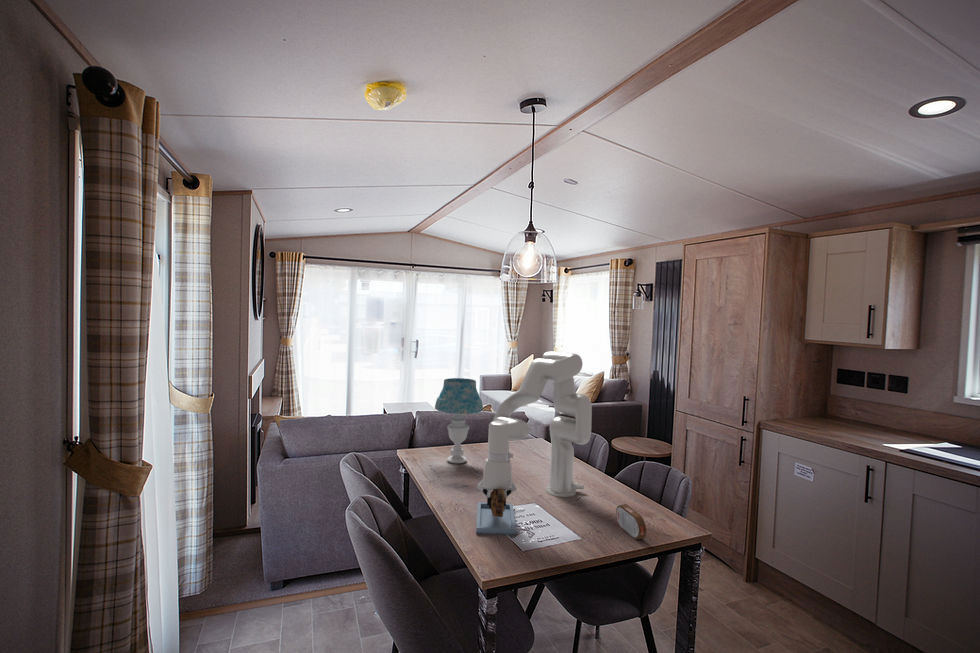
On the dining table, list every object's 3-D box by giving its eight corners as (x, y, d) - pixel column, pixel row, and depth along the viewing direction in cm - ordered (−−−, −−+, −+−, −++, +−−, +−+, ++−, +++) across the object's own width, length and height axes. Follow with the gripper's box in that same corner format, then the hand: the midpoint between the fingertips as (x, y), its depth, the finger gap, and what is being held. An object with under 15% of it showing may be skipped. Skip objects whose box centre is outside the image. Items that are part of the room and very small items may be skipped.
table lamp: (484, 455, 241) (487, 378, 240) (476, 470, 217) (479, 385, 216) (439, 451, 244) (442, 376, 243) (426, 465, 221) (430, 382, 220)
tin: (646, 543, 153) (647, 518, 152) (638, 544, 152) (639, 519, 151) (621, 523, 167) (622, 500, 167) (613, 524, 166) (615, 500, 166)
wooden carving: (484, 505, 172) (485, 478, 172) (496, 504, 173) (497, 478, 173) (495, 525, 156) (496, 495, 156) (508, 524, 157) (509, 495, 157)
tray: (512, 508, 176) (512, 503, 176) (515, 535, 154) (516, 529, 154) (477, 507, 176) (477, 502, 175) (476, 533, 154) (476, 527, 154)
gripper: (521, 454, 168) (519, 504, 169) (474, 452, 168) (473, 502, 169) (522, 460, 161) (520, 513, 161) (474, 459, 161) (472, 511, 161)
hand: (496, 507), depth 165 cm, fingers closed on wooden carving, 3 cm apart
